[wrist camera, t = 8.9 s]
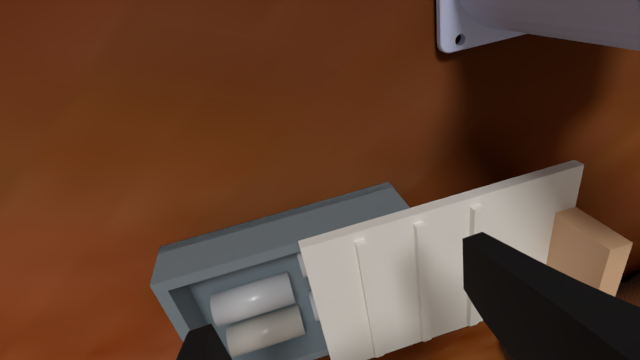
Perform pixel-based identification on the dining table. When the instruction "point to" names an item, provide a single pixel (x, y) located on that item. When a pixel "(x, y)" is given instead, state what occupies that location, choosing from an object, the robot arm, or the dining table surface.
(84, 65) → the dining table surface
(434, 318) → the lid
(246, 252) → the tub
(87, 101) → the dining table surface
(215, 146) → the dining table surface
